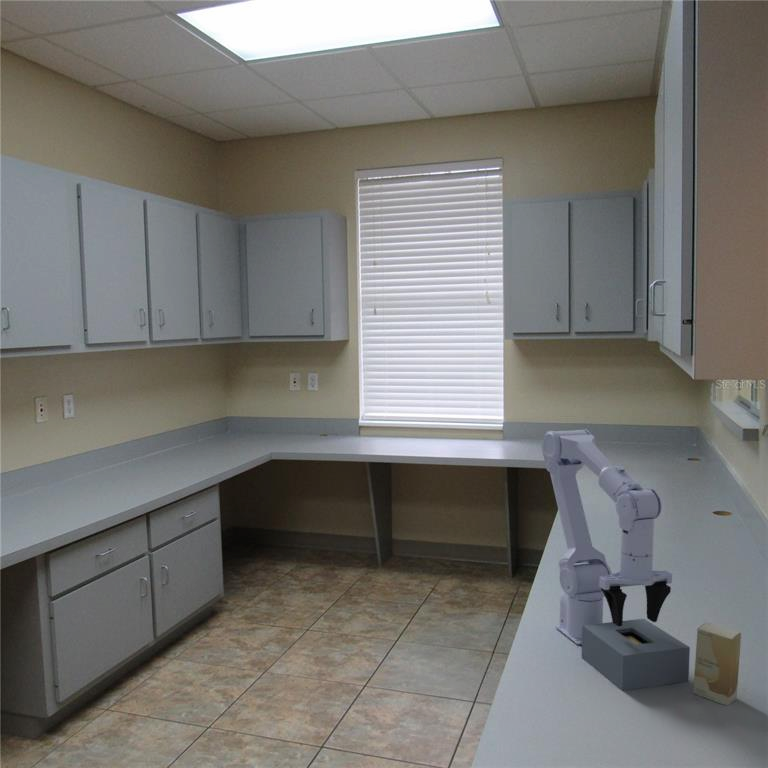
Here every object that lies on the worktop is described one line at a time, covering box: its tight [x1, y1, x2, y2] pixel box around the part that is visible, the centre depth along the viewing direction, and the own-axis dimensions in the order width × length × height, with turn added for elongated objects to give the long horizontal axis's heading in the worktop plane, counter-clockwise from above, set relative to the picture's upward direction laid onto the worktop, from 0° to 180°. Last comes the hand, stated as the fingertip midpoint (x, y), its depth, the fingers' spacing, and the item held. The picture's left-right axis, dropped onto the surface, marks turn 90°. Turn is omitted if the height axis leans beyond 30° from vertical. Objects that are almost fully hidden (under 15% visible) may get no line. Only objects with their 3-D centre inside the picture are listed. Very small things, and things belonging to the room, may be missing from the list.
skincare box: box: [692, 622, 742, 707], centre depth 130 cm, size 6×4×12 cm
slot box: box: [581, 618, 691, 691], centre depth 141 cm, size 14×14×6 cm
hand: (634, 622), depth 141 cm, fingers open, 7 cm apart
